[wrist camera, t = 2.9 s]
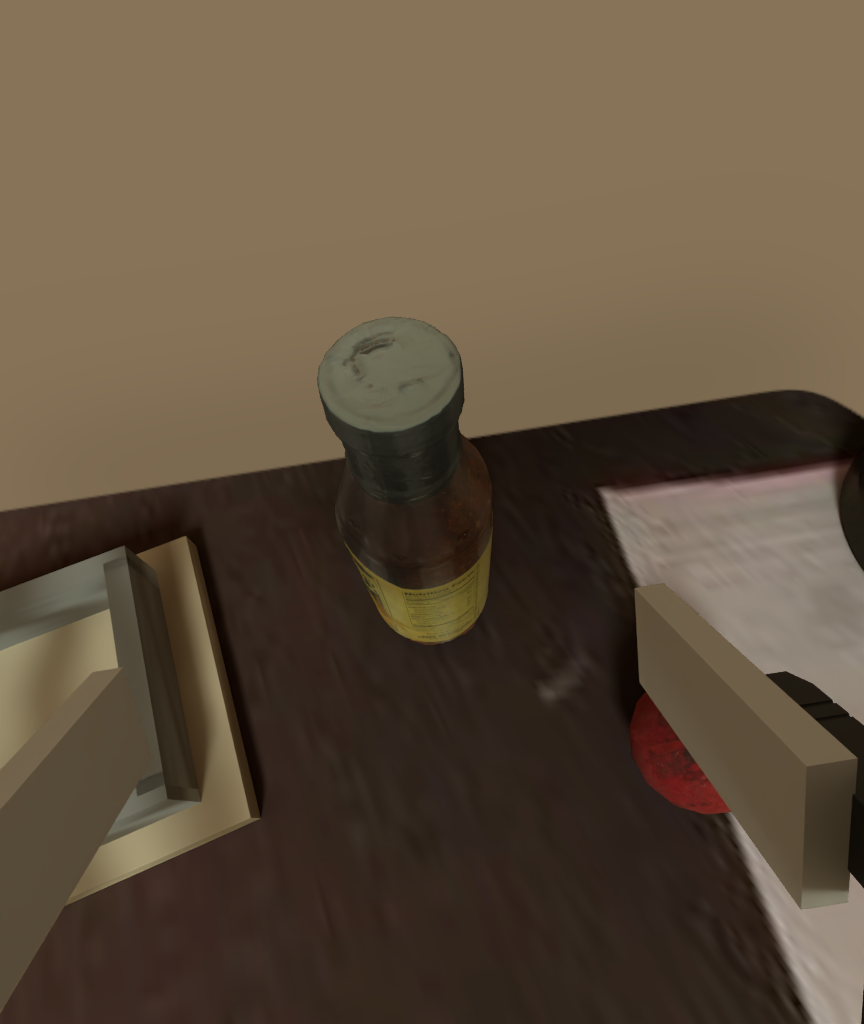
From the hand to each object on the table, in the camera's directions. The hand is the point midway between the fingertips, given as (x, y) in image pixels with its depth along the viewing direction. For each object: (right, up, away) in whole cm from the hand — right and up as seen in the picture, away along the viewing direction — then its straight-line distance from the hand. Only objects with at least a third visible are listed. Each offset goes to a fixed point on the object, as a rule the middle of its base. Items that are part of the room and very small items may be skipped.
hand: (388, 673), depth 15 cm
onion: (+13, -8, +14) cm, 21 cm away
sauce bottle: (+1, -1, +19) cm, 19 cm away
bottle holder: (-18, -7, +16) cm, 25 cm away
